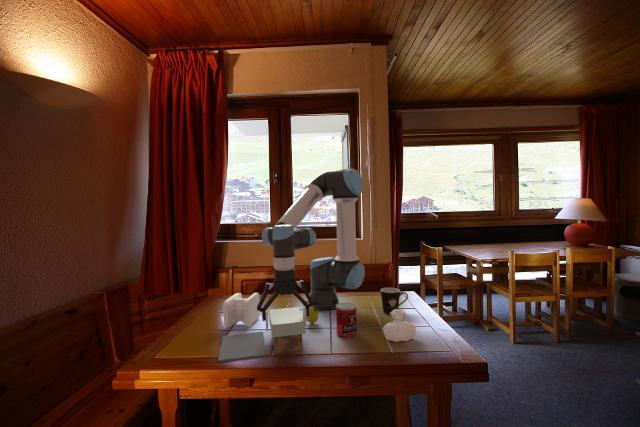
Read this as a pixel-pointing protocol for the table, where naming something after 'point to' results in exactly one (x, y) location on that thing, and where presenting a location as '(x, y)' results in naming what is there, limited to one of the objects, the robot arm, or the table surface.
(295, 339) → the box
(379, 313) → the table surface
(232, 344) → the mat
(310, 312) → the lemon
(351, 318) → the canned food
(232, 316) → the cable organizer
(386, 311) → the coffee mug
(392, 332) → the bust
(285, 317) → the lid
